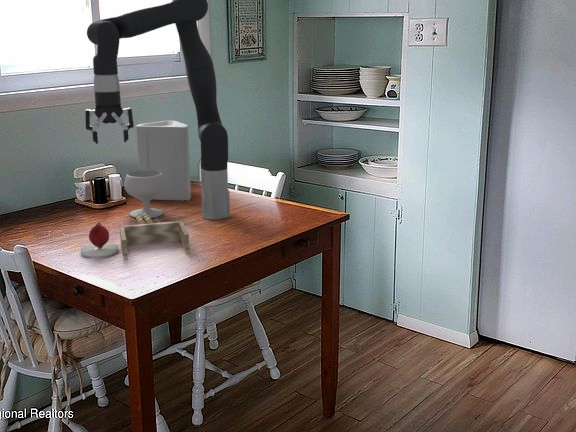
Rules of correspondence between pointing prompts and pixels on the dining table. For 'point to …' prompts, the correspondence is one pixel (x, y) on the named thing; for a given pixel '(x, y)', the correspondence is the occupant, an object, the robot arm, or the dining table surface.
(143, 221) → the ammunition
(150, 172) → the chalice
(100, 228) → the onion
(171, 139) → the tall white box
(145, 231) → the wooden plank arch
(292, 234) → the dining table surface
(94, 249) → the white flat disc
